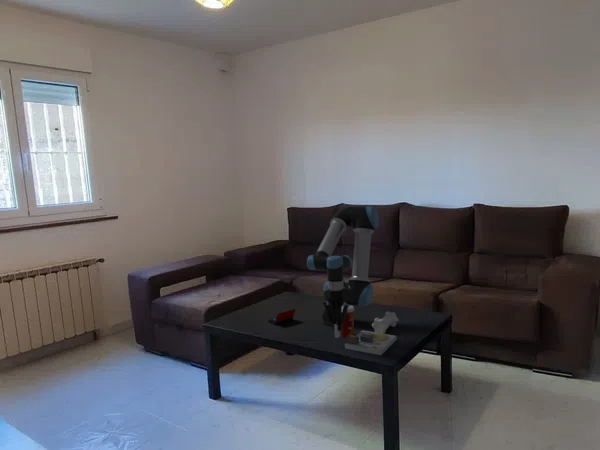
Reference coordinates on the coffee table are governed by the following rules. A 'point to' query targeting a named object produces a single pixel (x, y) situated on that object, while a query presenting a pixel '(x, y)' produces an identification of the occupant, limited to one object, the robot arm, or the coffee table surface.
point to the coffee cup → (348, 322)
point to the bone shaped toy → (385, 322)
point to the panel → (372, 342)
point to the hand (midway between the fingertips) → (337, 336)
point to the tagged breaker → (352, 339)
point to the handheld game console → (283, 317)
